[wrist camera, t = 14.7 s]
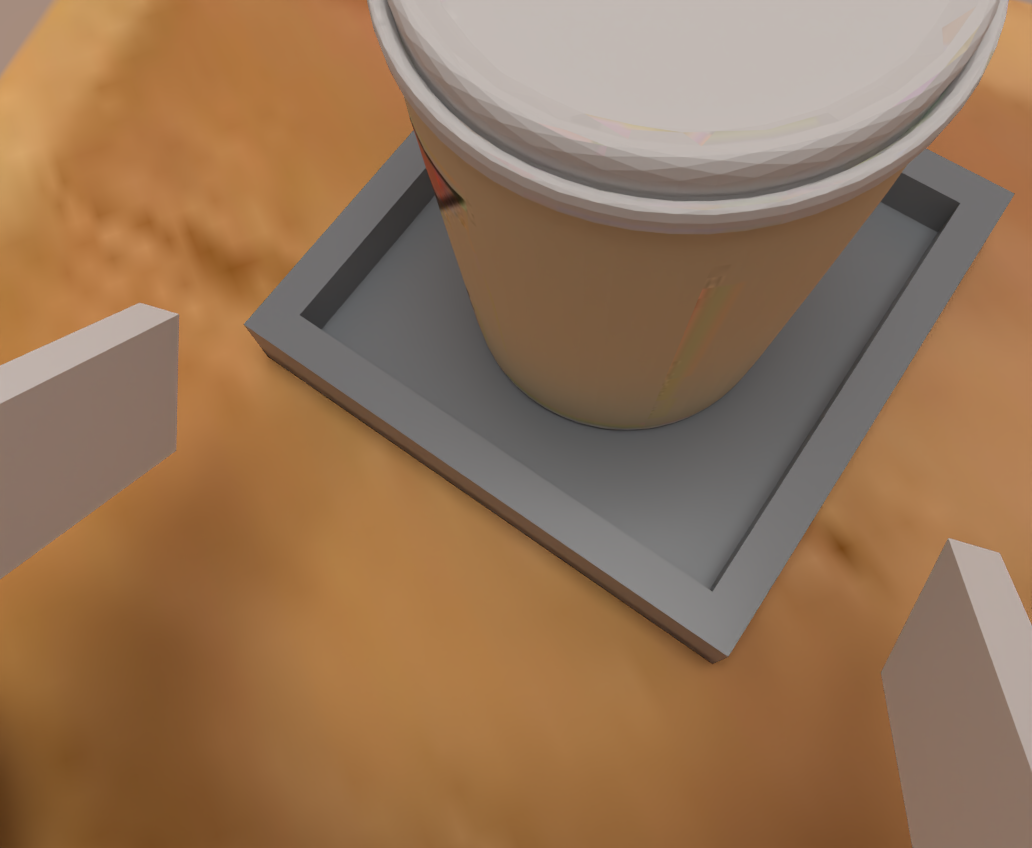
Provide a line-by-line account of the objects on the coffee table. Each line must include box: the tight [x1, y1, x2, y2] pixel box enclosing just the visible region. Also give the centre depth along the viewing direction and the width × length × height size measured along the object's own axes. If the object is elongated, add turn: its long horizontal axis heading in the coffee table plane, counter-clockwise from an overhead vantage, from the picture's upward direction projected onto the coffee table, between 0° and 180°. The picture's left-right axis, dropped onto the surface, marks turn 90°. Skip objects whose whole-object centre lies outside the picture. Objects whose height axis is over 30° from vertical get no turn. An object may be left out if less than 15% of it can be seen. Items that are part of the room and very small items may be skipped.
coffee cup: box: [367, 0, 1009, 430], centre depth 18 cm, size 9×9×12 cm
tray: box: [244, 130, 1014, 664], centre depth 23 cm, size 14×14×2 cm
